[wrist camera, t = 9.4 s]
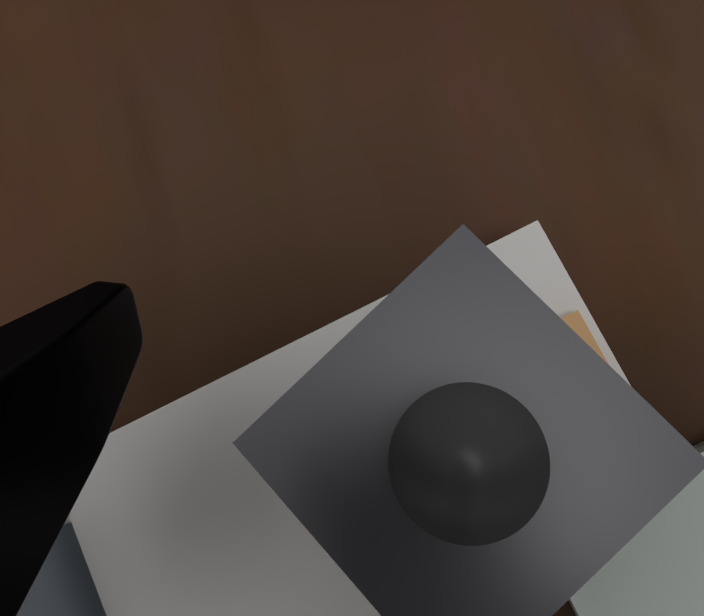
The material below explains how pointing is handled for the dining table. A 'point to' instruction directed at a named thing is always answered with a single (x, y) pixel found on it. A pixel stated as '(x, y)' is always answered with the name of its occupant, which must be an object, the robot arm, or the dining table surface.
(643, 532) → the tray
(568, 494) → the dark grey square canister
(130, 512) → the pdu strip
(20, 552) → the robot arm
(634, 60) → the dining table surface
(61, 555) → the grey tall block
